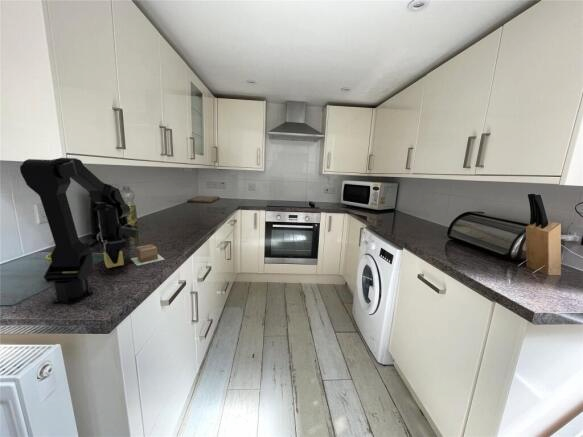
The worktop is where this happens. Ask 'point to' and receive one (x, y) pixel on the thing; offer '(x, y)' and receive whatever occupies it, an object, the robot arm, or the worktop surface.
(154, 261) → the baseplate
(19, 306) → the worktop surface
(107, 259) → the mustard cube
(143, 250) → the walnut block
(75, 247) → the robot arm
